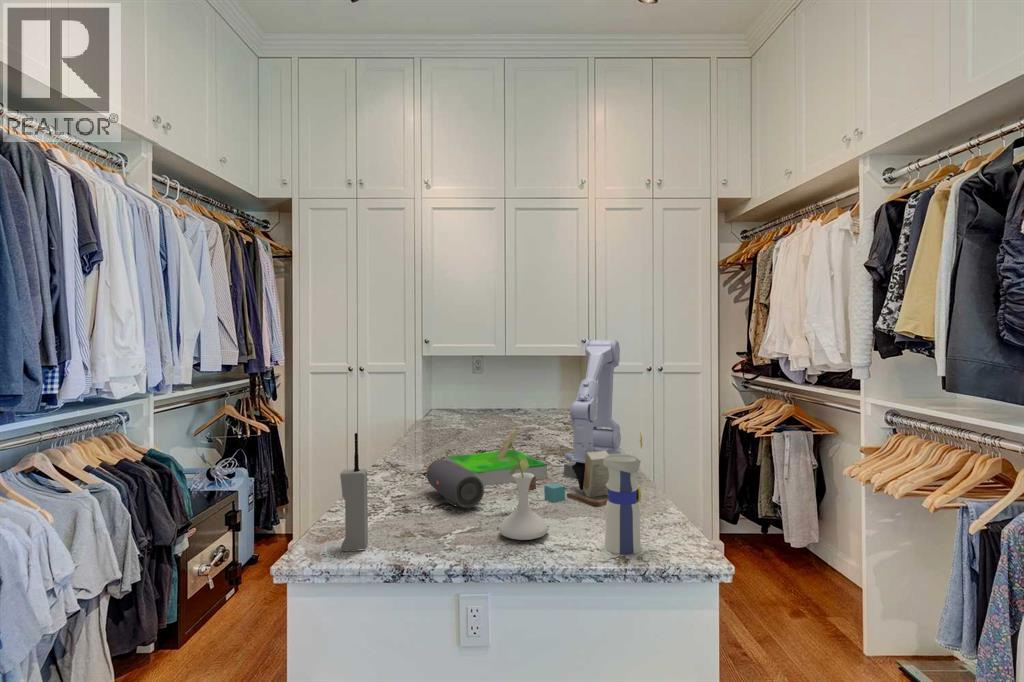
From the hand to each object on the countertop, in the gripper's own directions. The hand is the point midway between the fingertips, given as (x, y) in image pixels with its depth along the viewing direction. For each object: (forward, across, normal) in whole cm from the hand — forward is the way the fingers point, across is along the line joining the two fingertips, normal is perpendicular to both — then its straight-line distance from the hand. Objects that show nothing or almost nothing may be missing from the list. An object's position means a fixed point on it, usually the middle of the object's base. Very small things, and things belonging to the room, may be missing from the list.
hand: (583, 489), depth 160 cm
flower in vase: (+1, +17, -35) cm, 39 cm away
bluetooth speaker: (+1, -16, -34) cm, 38 cm away
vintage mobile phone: (+1, +1, -68) cm, 68 cm away
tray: (+2, -34, -8) cm, 35 cm away
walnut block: (+1, -13, -11) cm, 17 cm away
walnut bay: (+1, +5, 0) cm, 5 cm away
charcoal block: (+1, -16, +10) cm, 19 cm away
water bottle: (+1, +35, -21) cm, 41 cm away
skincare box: (+1, +3, +1) cm, 4 cm away
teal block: (+1, 0, -11) cm, 11 cm away
